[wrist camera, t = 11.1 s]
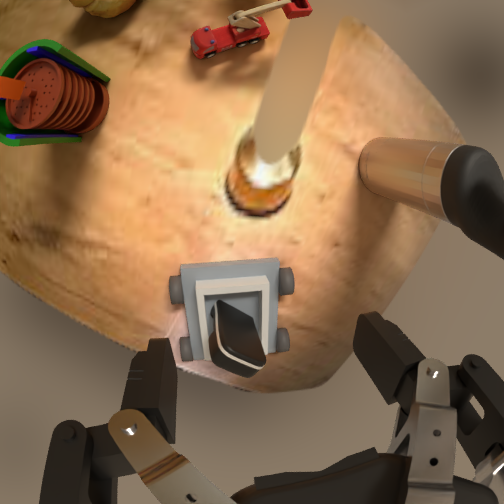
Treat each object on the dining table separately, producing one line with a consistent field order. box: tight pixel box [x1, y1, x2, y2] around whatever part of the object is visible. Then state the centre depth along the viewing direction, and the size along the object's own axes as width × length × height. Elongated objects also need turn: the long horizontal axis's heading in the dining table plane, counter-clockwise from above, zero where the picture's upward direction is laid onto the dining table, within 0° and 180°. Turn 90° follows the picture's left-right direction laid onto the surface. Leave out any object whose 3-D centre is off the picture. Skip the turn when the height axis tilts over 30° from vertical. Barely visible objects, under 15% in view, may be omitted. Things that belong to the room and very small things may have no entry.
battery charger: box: [208, 300, 266, 378], centre depth 37 cm, size 7×4×11 cm, turn 53°
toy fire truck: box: [191, 0, 312, 59], centre depth 25 cm, size 3×14×10 cm, turn 112°
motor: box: [0, 39, 110, 146], centre depth 20 cm, size 10×9×20 cm
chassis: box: [169, 258, 294, 361], centre depth 42 cm, size 17×17×4 cm
